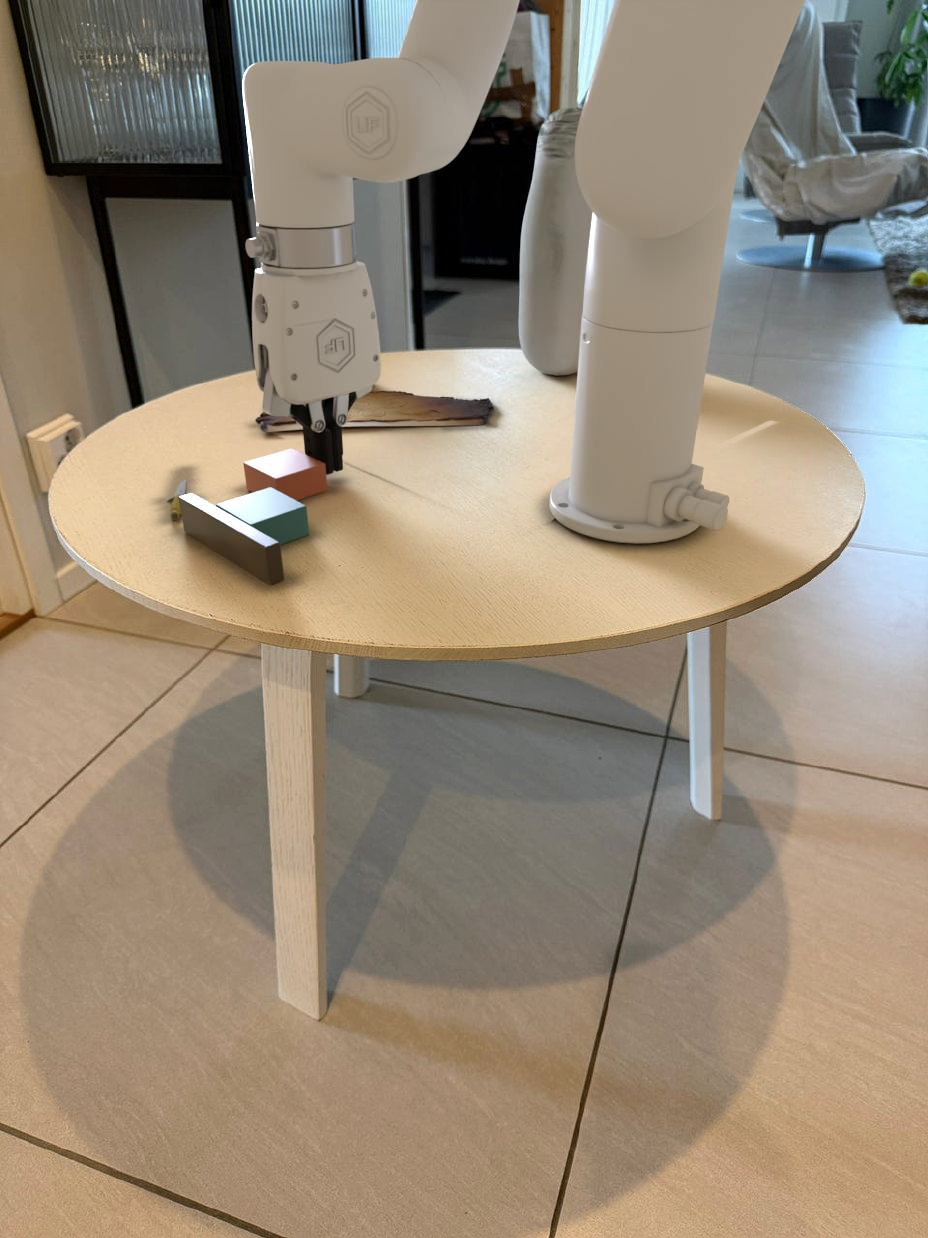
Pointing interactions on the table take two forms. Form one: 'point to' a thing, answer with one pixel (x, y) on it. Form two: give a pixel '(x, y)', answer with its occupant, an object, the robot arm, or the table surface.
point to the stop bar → (232, 538)
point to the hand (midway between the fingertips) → (325, 467)
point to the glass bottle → (554, 251)
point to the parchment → (399, 412)
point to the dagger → (177, 501)
